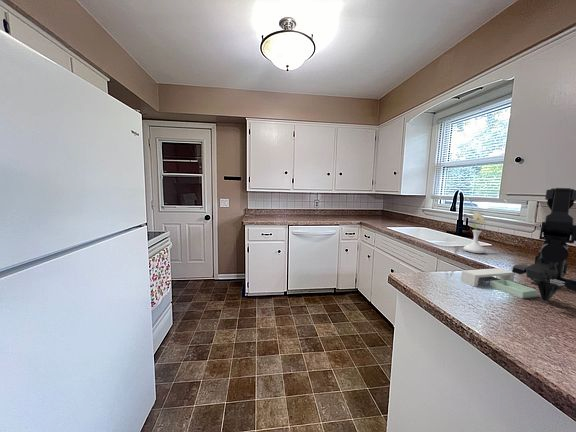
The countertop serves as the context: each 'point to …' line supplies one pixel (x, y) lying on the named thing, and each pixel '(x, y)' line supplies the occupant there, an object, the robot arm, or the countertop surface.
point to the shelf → (486, 276)
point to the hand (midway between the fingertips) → (544, 301)
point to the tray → (514, 289)
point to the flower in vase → (476, 236)
